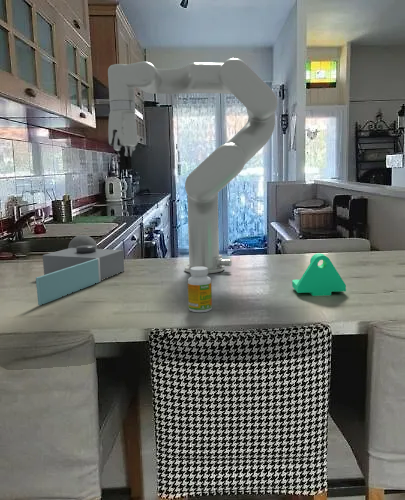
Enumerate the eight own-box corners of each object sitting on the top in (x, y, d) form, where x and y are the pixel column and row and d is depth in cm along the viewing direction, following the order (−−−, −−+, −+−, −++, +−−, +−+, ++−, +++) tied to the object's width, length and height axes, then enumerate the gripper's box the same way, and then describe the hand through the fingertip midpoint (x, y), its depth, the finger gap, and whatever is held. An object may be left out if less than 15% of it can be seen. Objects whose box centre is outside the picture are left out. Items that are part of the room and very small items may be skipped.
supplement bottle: (201, 314, 106) (200, 271, 105) (183, 310, 110) (182, 268, 108) (216, 308, 110) (215, 267, 109) (199, 304, 114) (197, 264, 112)
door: (98, 281, 140) (96, 258, 139) (101, 281, 140) (100, 258, 139) (37, 304, 117) (35, 277, 116) (41, 305, 116) (39, 277, 115)
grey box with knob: (124, 271, 153) (122, 245, 152) (99, 281, 140) (97, 252, 139) (72, 268, 161) (70, 243, 159) (44, 277, 148) (42, 250, 146)
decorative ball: (69, 261, 173) (67, 234, 171) (97, 259, 175) (96, 232, 174) (68, 266, 164) (66, 237, 162) (98, 264, 166) (96, 236, 164)
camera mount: (336, 287, 127) (337, 249, 125) (345, 295, 119) (346, 254, 118) (291, 289, 127) (291, 251, 125) (297, 297, 119) (297, 256, 117)
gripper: (124, 111, 153) (127, 169, 156) (97, 106, 139) (101, 170, 142) (145, 109, 150) (148, 169, 153) (120, 104, 136) (123, 169, 140)
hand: (125, 169), depth 148 cm, fingers closed
